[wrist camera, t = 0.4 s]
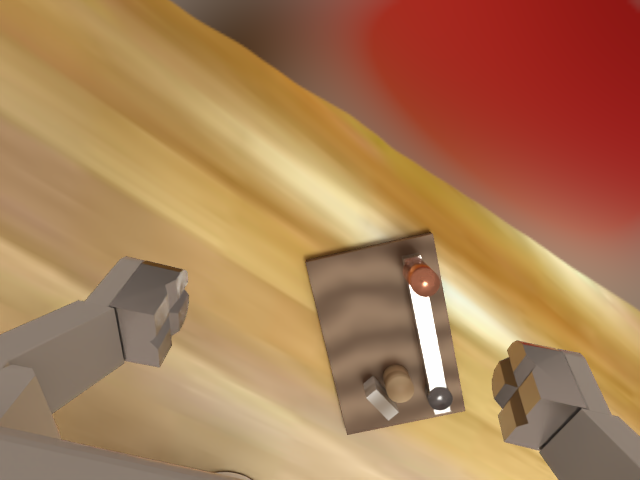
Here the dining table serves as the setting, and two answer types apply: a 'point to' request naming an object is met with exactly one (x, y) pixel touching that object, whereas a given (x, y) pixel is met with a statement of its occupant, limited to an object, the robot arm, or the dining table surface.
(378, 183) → the dining table surface
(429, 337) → the lever
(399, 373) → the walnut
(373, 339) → the nutcracker base
